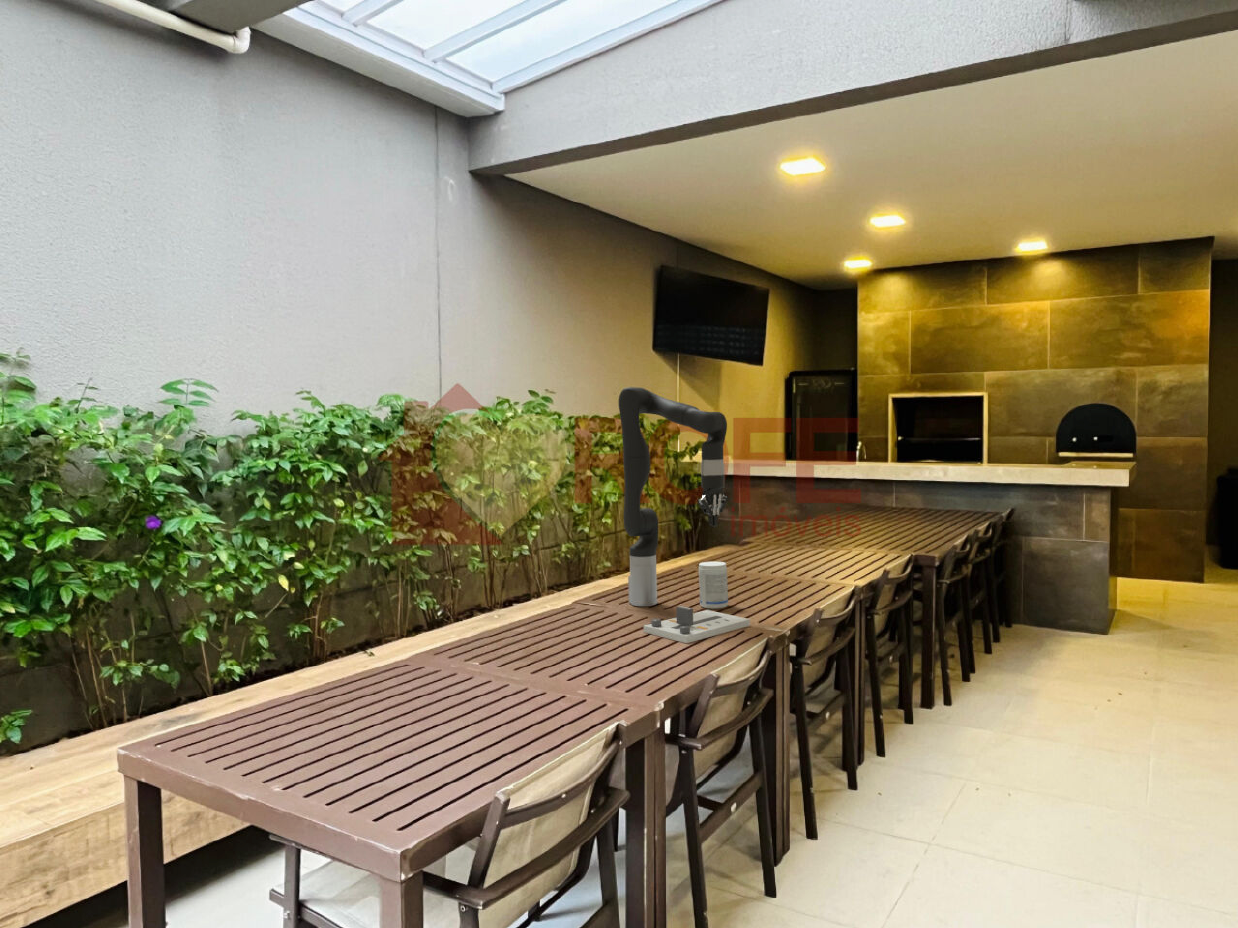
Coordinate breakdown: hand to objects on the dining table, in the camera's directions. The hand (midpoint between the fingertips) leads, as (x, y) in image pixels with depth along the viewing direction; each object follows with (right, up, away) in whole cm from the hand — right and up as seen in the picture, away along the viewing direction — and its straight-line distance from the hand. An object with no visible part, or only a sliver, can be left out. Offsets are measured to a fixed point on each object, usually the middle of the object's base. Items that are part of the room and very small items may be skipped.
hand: (713, 526), depth 268 cm
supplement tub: (+2, -28, +13) cm, 31 cm away
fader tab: (-11, -28, -21) cm, 36 cm away
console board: (-7, -30, -17) cm, 35 cm away
